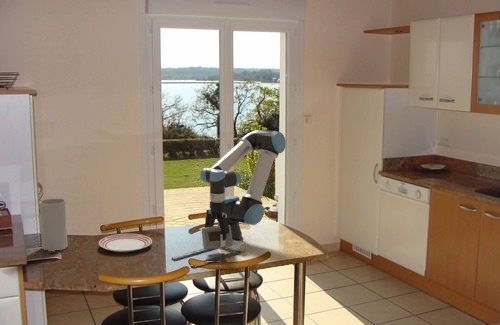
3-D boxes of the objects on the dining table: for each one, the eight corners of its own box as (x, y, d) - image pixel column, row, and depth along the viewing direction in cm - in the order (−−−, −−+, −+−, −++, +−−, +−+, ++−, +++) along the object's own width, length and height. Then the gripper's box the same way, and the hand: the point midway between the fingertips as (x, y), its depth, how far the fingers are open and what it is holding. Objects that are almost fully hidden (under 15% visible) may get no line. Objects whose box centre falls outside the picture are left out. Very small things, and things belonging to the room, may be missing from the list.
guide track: (171, 259, 275) (171, 249, 275) (222, 244, 300) (222, 235, 299) (194, 268, 264) (194, 258, 263) (244, 252, 288) (244, 242, 287)
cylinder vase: (71, 248, 289) (69, 201, 285) (46, 253, 281) (44, 205, 277) (62, 243, 299) (60, 197, 295) (38, 247, 291) (36, 200, 287)
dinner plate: (162, 246, 295) (162, 240, 295) (119, 259, 275) (119, 252, 275) (131, 236, 313) (131, 230, 313) (88, 247, 293) (88, 241, 293)
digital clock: (202, 250, 278) (203, 230, 277) (199, 245, 287) (199, 225, 285) (234, 248, 282) (234, 228, 281) (230, 243, 291) (230, 223, 289)
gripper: (197, 198, 286) (197, 241, 289) (226, 205, 271) (225, 250, 275) (208, 196, 291) (208, 238, 295) (237, 203, 276) (236, 247, 280)
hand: (216, 244), depth 285 cm, fingers closed on digital clock, 8 cm apart
